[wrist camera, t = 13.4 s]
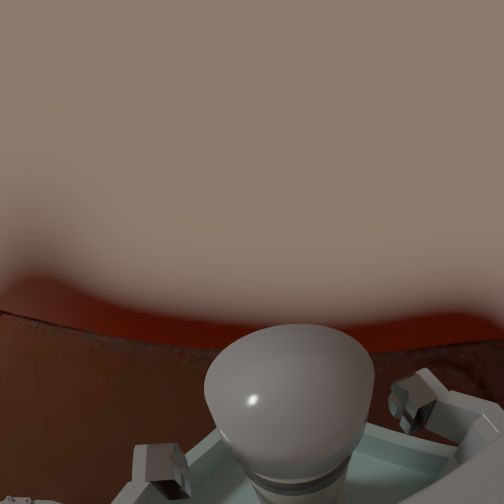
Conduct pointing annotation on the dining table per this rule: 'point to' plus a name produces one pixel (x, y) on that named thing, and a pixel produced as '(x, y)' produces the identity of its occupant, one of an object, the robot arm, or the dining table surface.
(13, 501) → the mechanical component
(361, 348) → the grey peg
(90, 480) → the dining table surface
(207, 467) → the parts tray
